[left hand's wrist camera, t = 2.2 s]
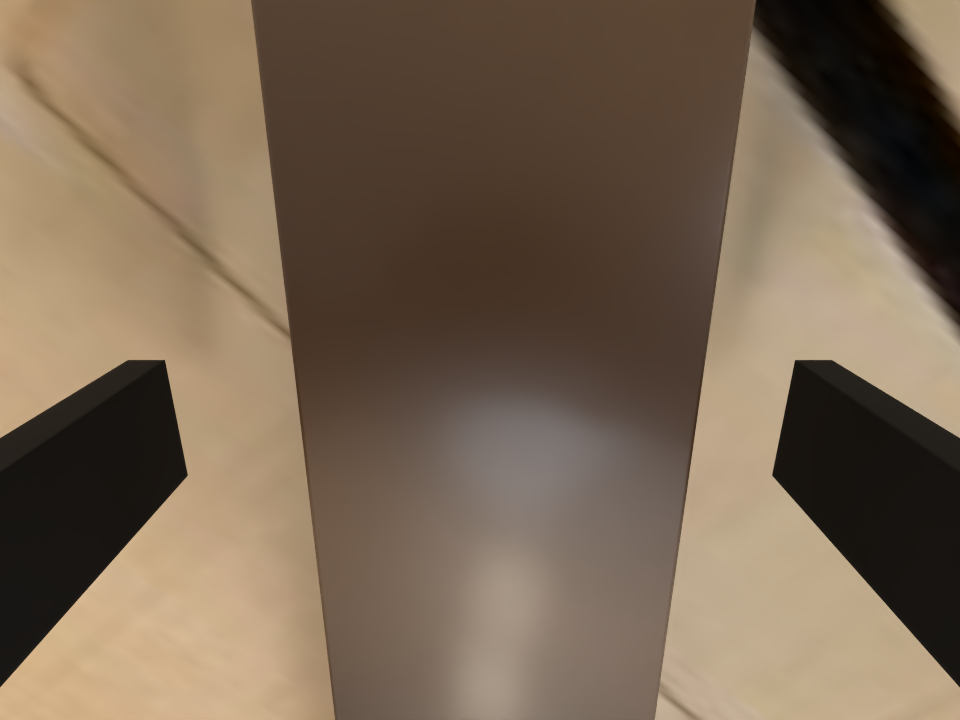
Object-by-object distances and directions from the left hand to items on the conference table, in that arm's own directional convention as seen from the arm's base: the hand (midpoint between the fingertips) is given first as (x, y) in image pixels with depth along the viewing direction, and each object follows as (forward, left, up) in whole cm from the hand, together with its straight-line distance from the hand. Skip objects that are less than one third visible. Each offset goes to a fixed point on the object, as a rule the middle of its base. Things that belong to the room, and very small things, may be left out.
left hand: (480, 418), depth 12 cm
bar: (+3, +29, -4) cm, 29 cm away
